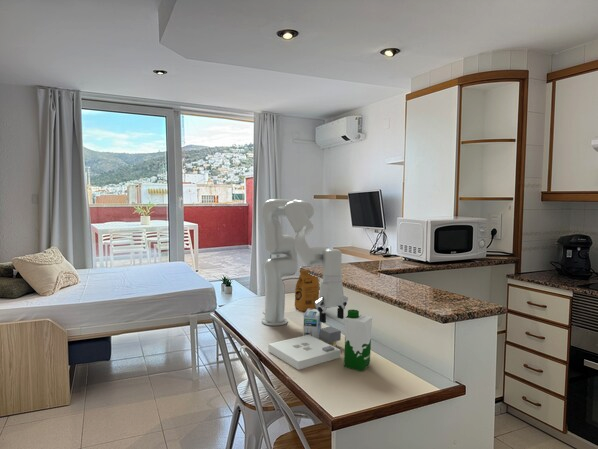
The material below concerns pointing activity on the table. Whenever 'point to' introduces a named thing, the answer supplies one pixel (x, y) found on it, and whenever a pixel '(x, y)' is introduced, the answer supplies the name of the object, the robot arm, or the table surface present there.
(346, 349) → the milk carton
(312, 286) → the coffee package
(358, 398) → the table surface
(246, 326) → the table surface
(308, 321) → the light bulb box
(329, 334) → the plug
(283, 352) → the socket
